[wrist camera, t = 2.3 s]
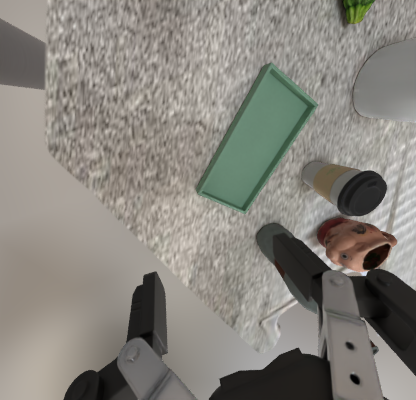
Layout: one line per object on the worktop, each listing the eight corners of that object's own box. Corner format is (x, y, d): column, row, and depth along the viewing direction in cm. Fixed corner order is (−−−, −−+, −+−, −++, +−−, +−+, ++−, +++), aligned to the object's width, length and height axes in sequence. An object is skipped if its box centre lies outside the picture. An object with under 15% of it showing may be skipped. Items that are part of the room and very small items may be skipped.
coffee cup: (321, 146, 46) (386, 163, 33) (332, 174, 50) (393, 198, 37) (289, 171, 47) (340, 197, 34) (303, 196, 51) (352, 228, 38)
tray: (240, 208, 48) (245, 214, 46) (195, 189, 43) (197, 194, 41) (309, 104, 41) (318, 104, 38) (263, 65, 35) (271, 62, 33)
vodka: (253, 250, 56) (337, 377, 30) (255, 224, 52) (354, 346, 26) (282, 244, 58) (385, 359, 32) (286, 218, 54) (408, 327, 27)
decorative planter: (365, 200, 58) (420, 226, 46) (359, 231, 64) (407, 261, 52) (305, 222, 56) (346, 255, 44) (305, 252, 62) (341, 288, 50)
